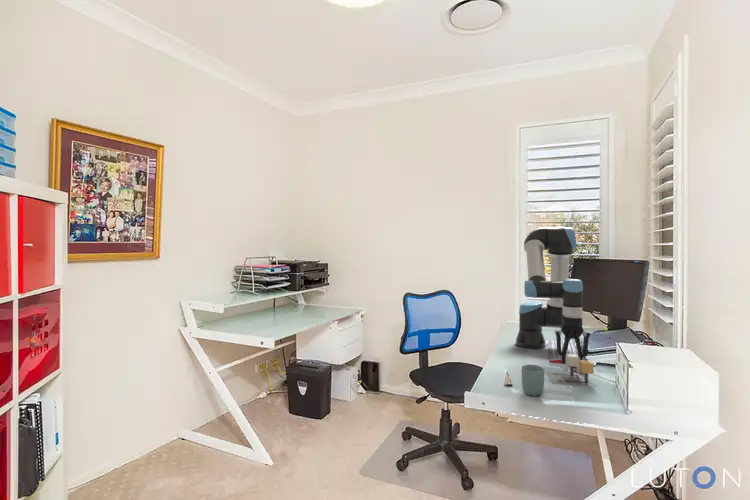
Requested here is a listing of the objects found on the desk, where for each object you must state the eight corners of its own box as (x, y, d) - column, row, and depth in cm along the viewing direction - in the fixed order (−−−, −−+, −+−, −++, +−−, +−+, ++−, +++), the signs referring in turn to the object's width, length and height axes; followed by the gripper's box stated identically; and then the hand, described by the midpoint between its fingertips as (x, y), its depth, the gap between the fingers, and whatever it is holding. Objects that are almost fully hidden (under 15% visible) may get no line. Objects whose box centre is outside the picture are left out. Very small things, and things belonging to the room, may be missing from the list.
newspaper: (507, 369, 183) (507, 365, 183) (523, 371, 180) (523, 367, 180) (504, 387, 161) (504, 383, 160) (523, 389, 158) (523, 385, 158)
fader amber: (579, 379, 163) (579, 359, 162) (589, 380, 162) (590, 360, 162) (582, 383, 159) (582, 362, 159) (593, 383, 158) (593, 363, 158)
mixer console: (543, 373, 175) (543, 370, 175) (583, 375, 172) (583, 372, 172) (552, 386, 159) (552, 383, 159) (596, 389, 156) (596, 386, 156)
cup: (517, 392, 154) (517, 366, 154) (532, 388, 157) (532, 363, 157) (532, 399, 147) (532, 372, 147) (548, 396, 150) (548, 369, 150)
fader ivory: (565, 372, 171) (565, 353, 171) (575, 373, 170) (575, 354, 170) (568, 375, 167) (568, 356, 167) (578, 376, 166) (578, 357, 166)
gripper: (552, 317, 166) (552, 373, 167) (597, 318, 163) (597, 376, 163) (548, 314, 173) (548, 367, 174) (591, 315, 170) (591, 370, 171)
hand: (571, 371), depth 169 cm, fingers closed on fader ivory, 4 cm apart
